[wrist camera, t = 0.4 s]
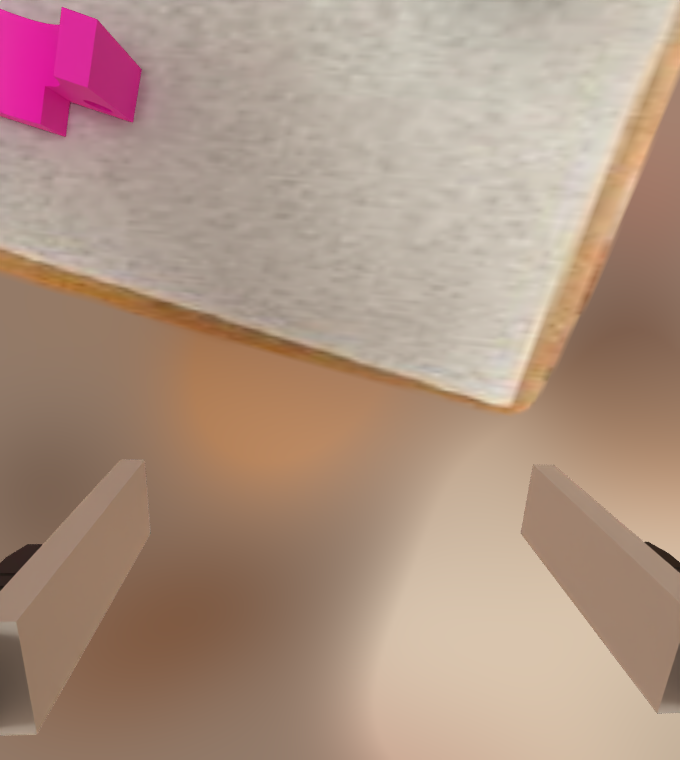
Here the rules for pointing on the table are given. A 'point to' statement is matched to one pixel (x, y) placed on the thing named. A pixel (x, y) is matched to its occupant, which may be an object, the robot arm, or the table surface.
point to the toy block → (63, 70)
